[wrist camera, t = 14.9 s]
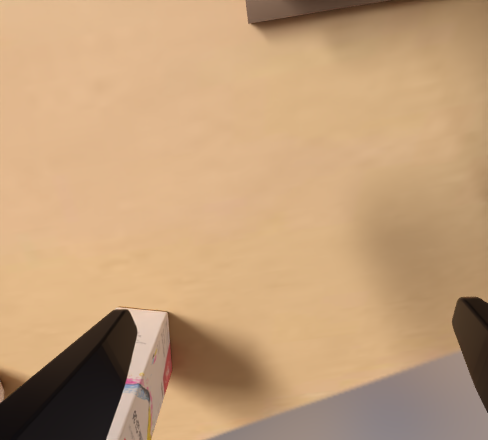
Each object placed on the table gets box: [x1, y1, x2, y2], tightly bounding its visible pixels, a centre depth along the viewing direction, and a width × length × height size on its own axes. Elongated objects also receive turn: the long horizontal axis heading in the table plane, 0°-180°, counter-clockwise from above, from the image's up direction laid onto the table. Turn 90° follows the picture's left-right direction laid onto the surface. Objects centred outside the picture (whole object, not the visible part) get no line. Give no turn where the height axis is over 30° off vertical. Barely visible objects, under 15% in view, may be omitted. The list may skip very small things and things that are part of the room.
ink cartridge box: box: [106, 307, 172, 440], centre depth 25 cm, size 9×5×15 cm, turn 177°
